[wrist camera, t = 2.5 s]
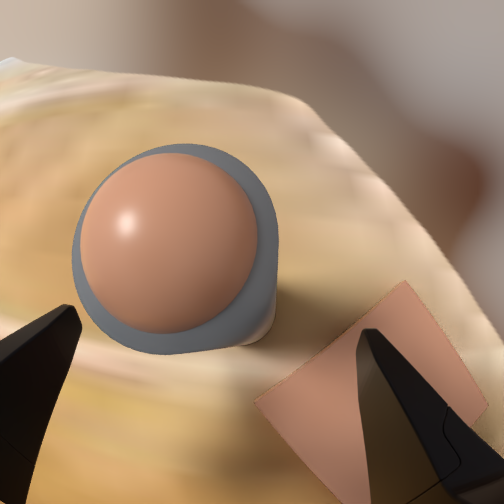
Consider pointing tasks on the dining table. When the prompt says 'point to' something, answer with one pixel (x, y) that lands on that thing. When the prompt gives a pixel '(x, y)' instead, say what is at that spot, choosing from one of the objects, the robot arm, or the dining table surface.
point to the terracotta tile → (346, 392)
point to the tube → (179, 252)
